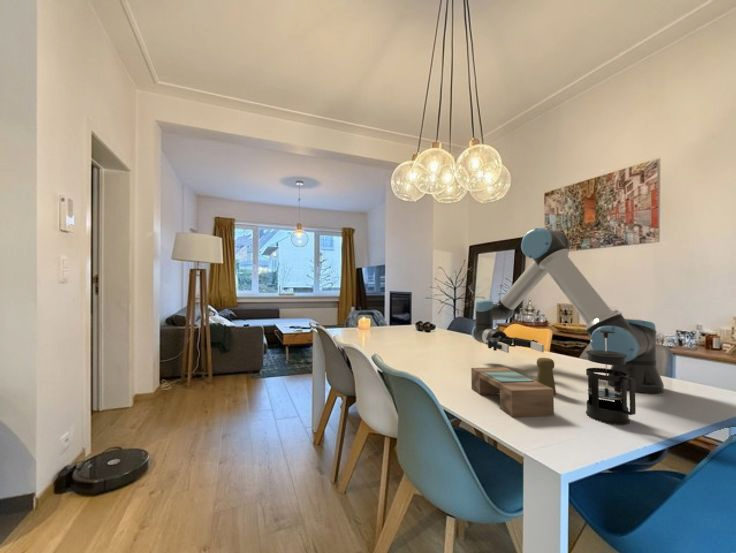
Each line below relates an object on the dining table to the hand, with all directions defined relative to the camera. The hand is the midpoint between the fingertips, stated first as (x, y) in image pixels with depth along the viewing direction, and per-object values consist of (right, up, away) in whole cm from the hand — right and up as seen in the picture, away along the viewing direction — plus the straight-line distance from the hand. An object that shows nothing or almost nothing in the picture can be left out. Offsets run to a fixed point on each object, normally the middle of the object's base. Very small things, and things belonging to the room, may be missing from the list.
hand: (525, 348), depth 118 cm
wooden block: (-15, -11, -19) cm, 27 cm away
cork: (+2, -12, -11) cm, 16 cm away
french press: (+7, -11, -32) cm, 34 cm away
